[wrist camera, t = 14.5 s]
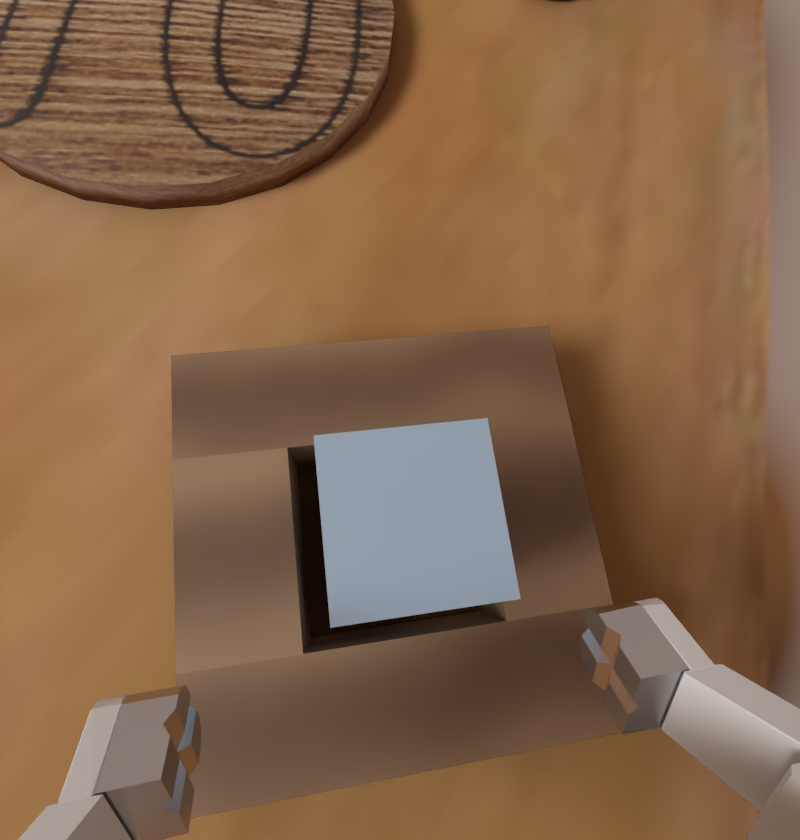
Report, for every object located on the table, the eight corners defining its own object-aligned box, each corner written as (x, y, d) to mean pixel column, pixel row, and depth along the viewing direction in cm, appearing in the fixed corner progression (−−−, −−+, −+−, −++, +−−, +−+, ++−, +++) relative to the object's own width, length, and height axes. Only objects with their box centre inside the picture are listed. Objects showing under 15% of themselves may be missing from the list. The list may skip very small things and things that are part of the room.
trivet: (-121, 204, 24) (-159, 174, 22) (-21, -140, 31) (-44, -184, 29) (399, 223, 27) (403, 198, 25) (385, -97, 34) (387, -134, 32)
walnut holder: (587, 698, 21) (642, 728, 17) (212, 768, 19) (178, 820, 15) (517, 362, 25) (548, 325, 21) (200, 390, 23) (171, 355, 19)
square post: (442, 583, 21) (520, 598, 12) (337, 598, 21) (330, 628, 11) (427, 479, 23) (487, 417, 13) (327, 491, 22) (313, 435, 12)
